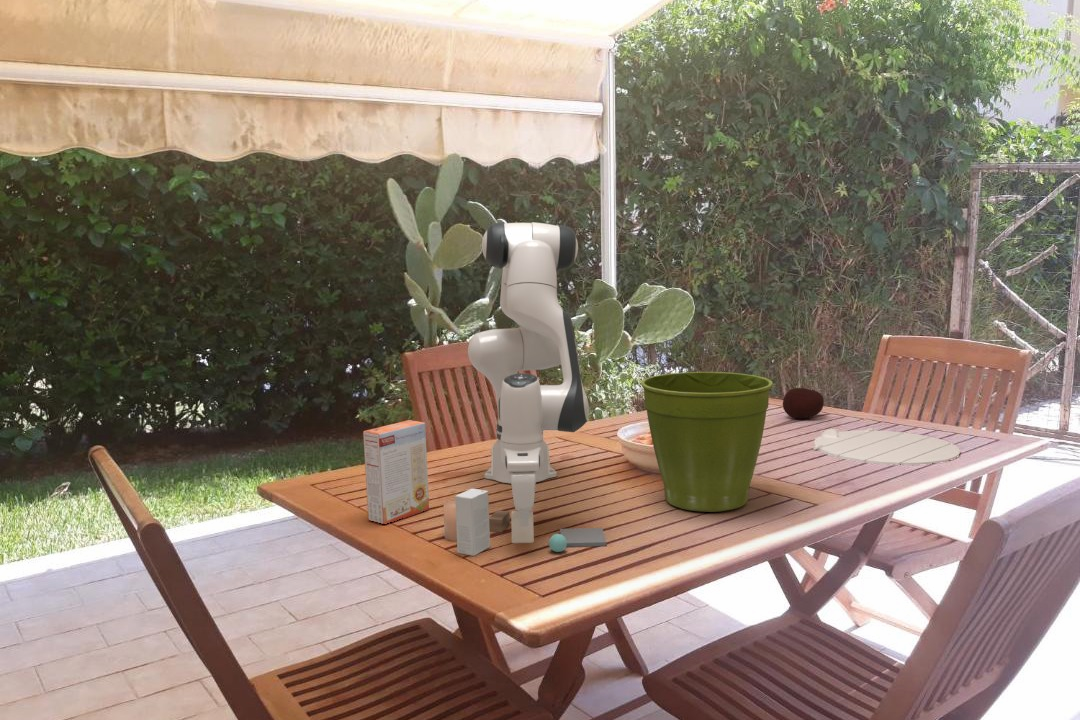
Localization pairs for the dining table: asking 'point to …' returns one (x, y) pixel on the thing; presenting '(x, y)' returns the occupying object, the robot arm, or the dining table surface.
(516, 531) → the cream block
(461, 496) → the skincare box
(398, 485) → the cracker box
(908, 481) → the dining table surface
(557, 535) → the teal ball
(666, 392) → the plant pot
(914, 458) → the lazy susan
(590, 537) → the slate coaster
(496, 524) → the walnut block
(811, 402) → the dark brown rounded lump
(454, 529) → the tan domed cylinder
